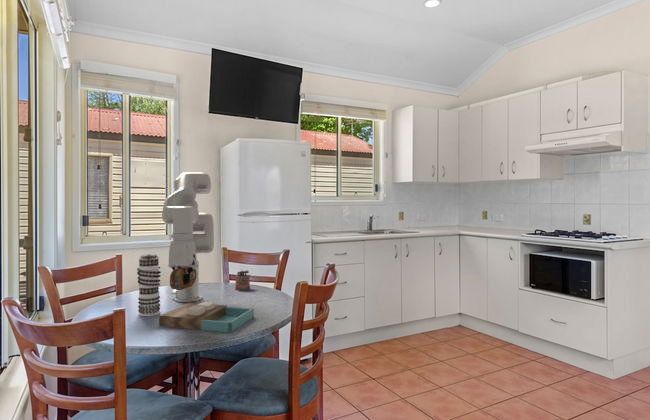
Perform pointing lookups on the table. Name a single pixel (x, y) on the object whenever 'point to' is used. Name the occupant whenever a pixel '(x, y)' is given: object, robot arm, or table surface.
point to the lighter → (242, 280)
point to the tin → (181, 279)
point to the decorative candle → (148, 285)
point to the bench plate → (190, 317)
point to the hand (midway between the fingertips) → (183, 283)
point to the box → (229, 320)
